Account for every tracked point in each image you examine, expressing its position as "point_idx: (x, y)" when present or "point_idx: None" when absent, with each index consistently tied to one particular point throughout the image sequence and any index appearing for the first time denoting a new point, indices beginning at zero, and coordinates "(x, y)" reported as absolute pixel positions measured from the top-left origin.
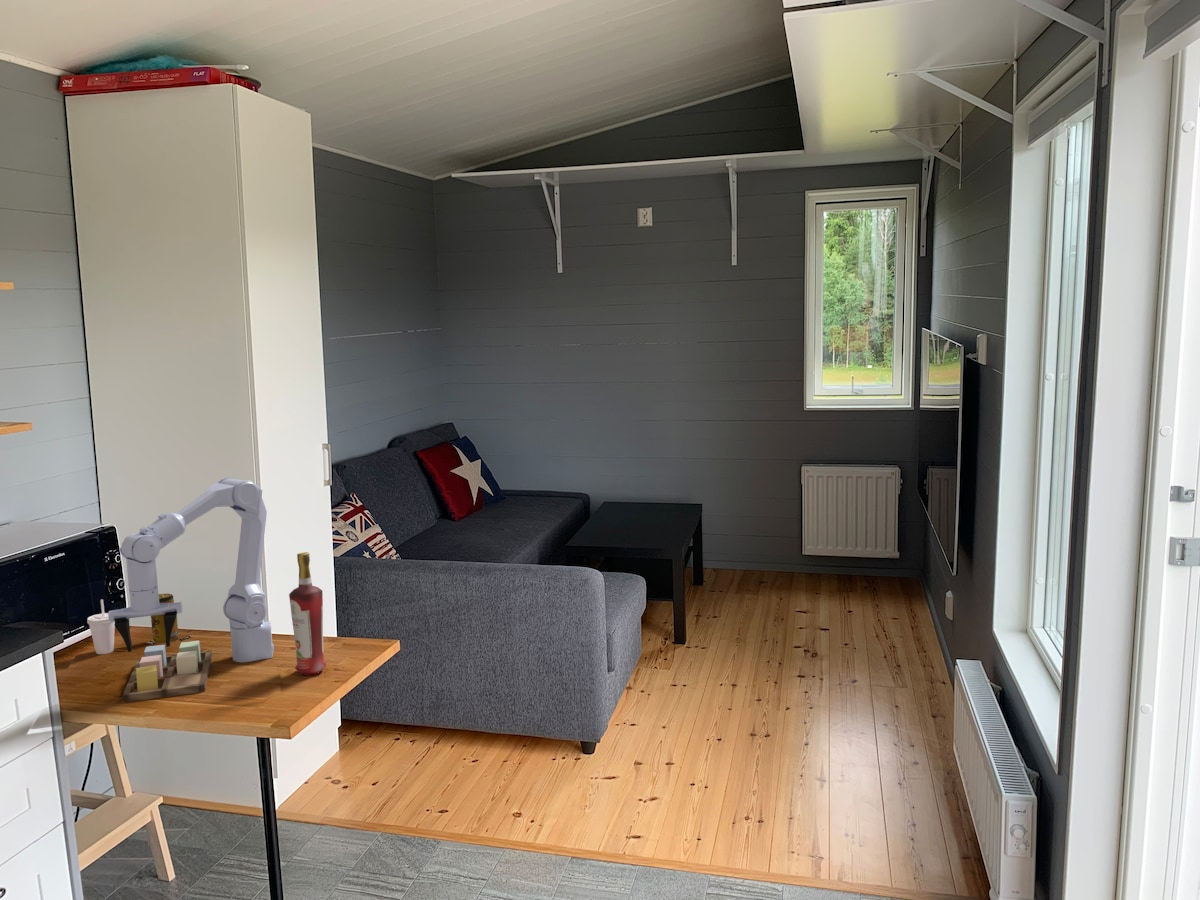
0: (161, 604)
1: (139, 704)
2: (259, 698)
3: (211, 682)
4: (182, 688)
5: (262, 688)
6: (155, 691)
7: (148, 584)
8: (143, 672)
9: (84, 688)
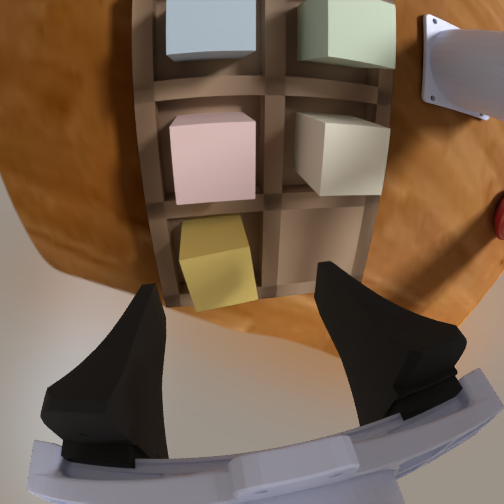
0: (417, 447)
1: None
2: (418, 304)
3: None
4: (312, 291)
5: (437, 263)
6: None
7: None
8: (217, 304)
9: (19, 136)
